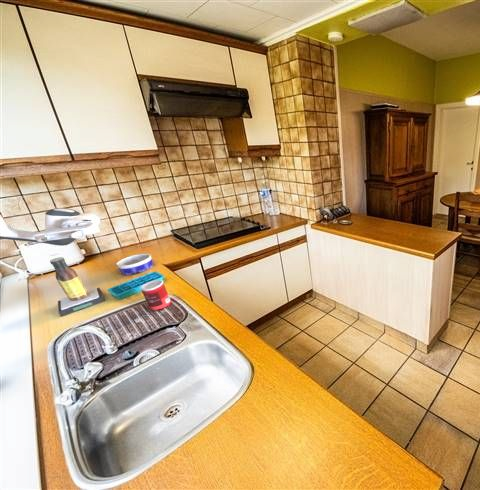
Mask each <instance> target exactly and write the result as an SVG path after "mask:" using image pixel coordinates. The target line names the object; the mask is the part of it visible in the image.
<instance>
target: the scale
mask: <svg viewBox="0 0 480 490" xmlns="http://www.w3.org/2000/svg"><path fill="white" fill-rule="evenodd" d="M86 290H87V292H88V295H87V296H86V297H84V298H82V299H79V300H74V301H72V300H70V299H69V298H68V297H67V296H65V297H63V298H60V300H57V310H58V311H57V312H58V314H59V316H60V317H65V316H67V315H70V314H72V313H76V312H79V311H81V310H84V309H87V308H89V307H92V306H95V305H98V304H101V303H104V302H105V298H104V297H105V296H104V295H103V292H102V290H101V288H100V287H92V288H90V289H86Z"/></svg>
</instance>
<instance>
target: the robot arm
mask: <svg viewBox="0 0 480 490" xmlns="http://www.w3.org/2000/svg"><path fill="white" fill-rule="evenodd" d="M44 224H45V225H44V228H45V229H44V230H41V231H30V230H22V229H17V228H14V227H12V226H10V225H9V224H8V222H6V220H5V219H4V217H3V216H2V214H0V239H4V240H10V241H18V242H19V241H20V242H29V243H31V242H32V243H39V244H45V245H51V246H68V245H70V244H73V242H75V241H76V240H77V239H80V238H83V237H86V236H91V235H95V234H98V233H100V232H101V229H100V225H101V218H100V217H99V216H98V215H97V214H95V213H92V212H79V211H77V210H75V209H72V208H66V207H56V208H51V209H49V210H47V211H46V212H45V213H44Z"/></svg>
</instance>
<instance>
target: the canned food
mask: <svg viewBox="0 0 480 490" xmlns="http://www.w3.org/2000/svg"><path fill="white" fill-rule="evenodd" d="M141 293H142V295H143V298H144V299H145V301H146V304H147V305H148V308H149V309H150V310H151V311H152V310H158V309H162V308H164V309H166V308H168V307H169V306H171V304H172V301H171V298H170V295H169V293H168V291H167V289H166V286H165V283H164V281H163V282H162V280H154V281H150V282H148V283H146V284H144V285H143V286H142V287H141ZM167 306H168V307H167ZM165 307H166V308H165ZM162 310H163V309H162ZM159 311H160V310H158V311H157V312H159Z"/></svg>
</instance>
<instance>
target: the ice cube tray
mask: <svg viewBox="0 0 480 490" xmlns="http://www.w3.org/2000/svg"><path fill="white" fill-rule="evenodd" d="M164 278H165V275H164V274H162V273H160V272H158V271H157V270H156V271H151V272H149V273H146V274H143V275H140V276H138V277H135V278H133V279H129V280H127V281H125V282H122V283H120V284H117V285H115V286H112V287H110V288H107V291H108V292H109V294H111V295H113V296H114V297H115V298H116V299H118V300H124V299H126V298H128V297H131V296H133V295H135V294H138V293H140V292H141V293H142V291H141V287H142V286H143V285H144V284H146V283H148V282H150V281H154V280H162V282H163V283H164Z"/></svg>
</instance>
